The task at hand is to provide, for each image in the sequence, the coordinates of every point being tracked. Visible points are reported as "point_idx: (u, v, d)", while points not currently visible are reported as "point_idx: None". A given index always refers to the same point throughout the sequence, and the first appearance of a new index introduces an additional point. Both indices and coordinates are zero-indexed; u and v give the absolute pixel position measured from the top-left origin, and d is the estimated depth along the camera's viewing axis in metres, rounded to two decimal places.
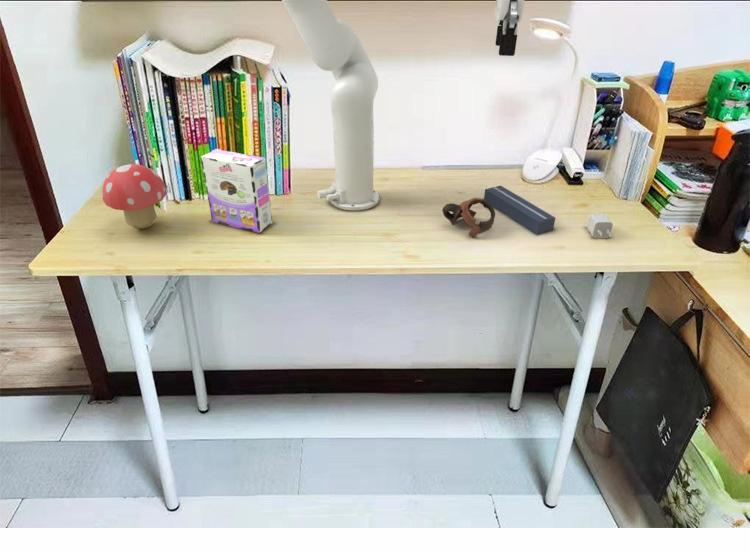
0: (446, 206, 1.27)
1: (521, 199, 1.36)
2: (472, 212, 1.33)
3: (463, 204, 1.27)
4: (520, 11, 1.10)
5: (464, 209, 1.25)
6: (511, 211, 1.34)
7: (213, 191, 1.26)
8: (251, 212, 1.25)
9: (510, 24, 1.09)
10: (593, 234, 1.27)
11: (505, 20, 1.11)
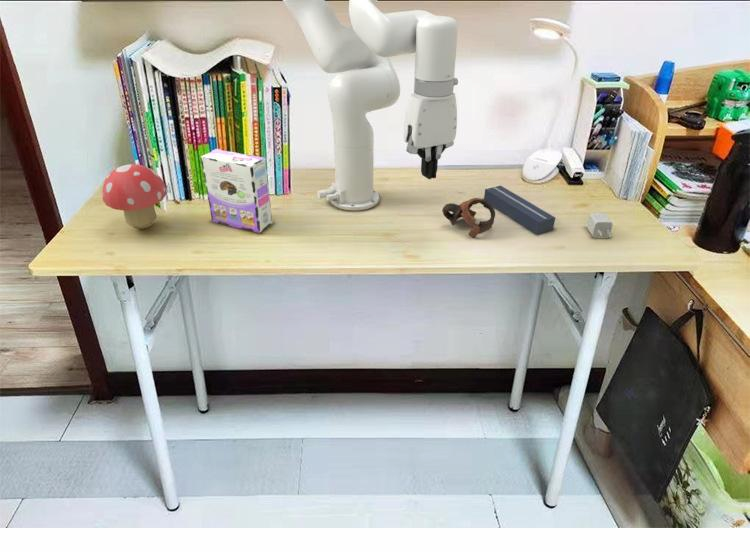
0: (446, 206, 1.27)
1: (521, 199, 1.36)
2: (472, 212, 1.33)
3: (463, 204, 1.27)
4: (414, 138, 1.09)
5: (464, 209, 1.25)
6: (511, 211, 1.34)
7: (213, 191, 1.26)
8: (251, 212, 1.25)
9: None
10: (593, 234, 1.27)
11: None
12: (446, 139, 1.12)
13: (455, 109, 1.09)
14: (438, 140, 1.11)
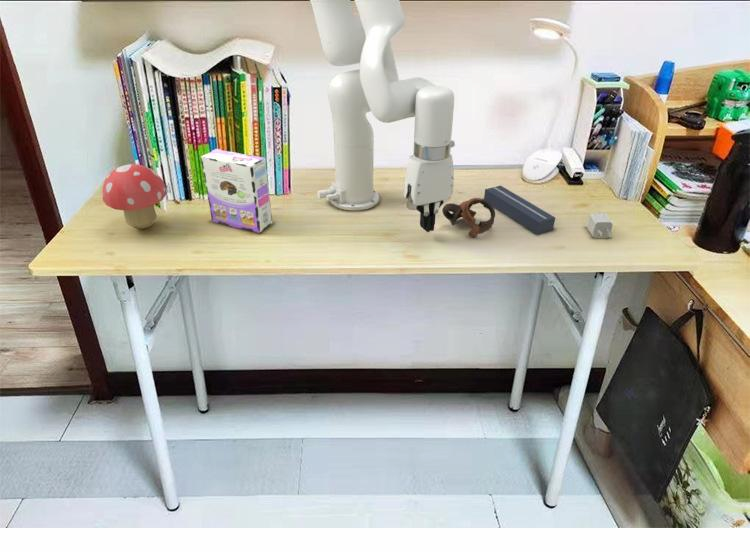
0: (446, 206, 1.27)
1: (521, 199, 1.36)
2: (472, 212, 1.33)
3: (463, 204, 1.27)
4: (413, 196, 1.16)
5: (464, 209, 1.25)
6: (511, 211, 1.34)
7: (213, 190, 1.26)
8: (251, 212, 1.25)
9: None
10: (593, 234, 1.27)
11: None
12: (443, 196, 1.19)
13: (452, 170, 1.17)
14: (436, 197, 1.18)
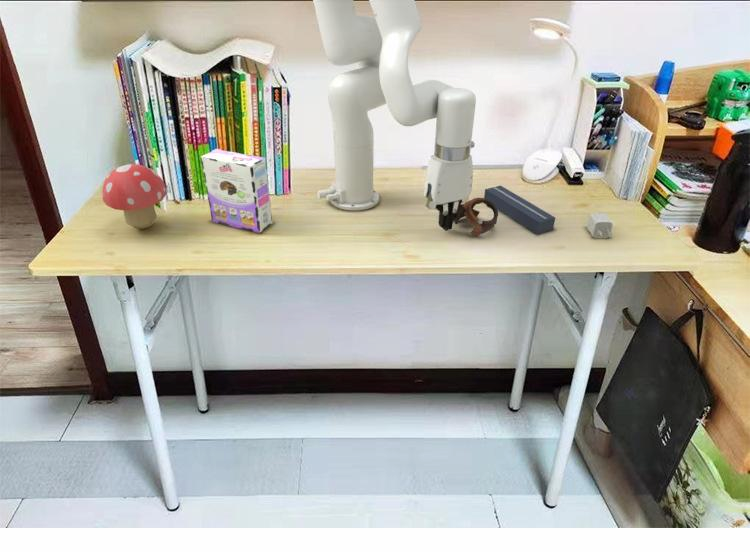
0: None
1: (521, 199, 1.36)
2: (475, 212, 1.33)
3: (466, 203, 1.28)
4: (433, 196, 1.19)
5: (467, 208, 1.26)
6: (511, 211, 1.34)
7: (213, 190, 1.26)
8: (251, 212, 1.25)
9: None
10: (593, 234, 1.27)
11: None
12: (462, 195, 1.22)
13: (471, 170, 1.19)
14: (455, 197, 1.21)
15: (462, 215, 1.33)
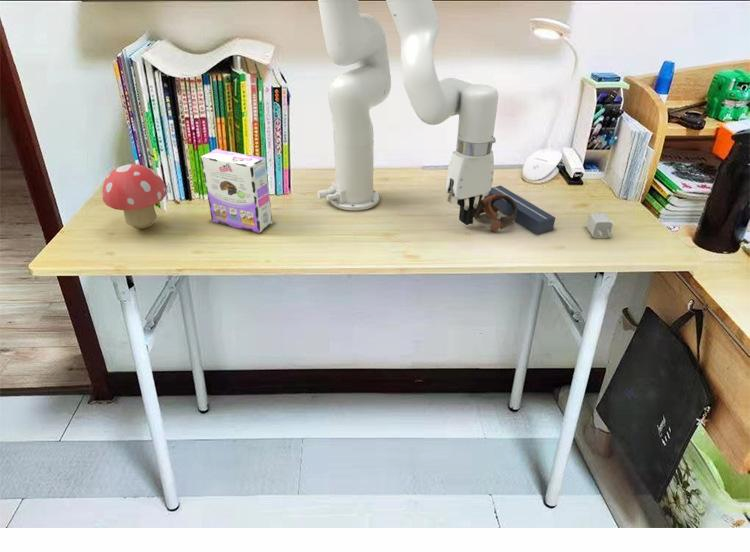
0: None
1: (521, 199, 1.36)
2: (495, 208, 1.35)
3: (486, 199, 1.30)
4: (455, 191, 1.21)
5: (486, 204, 1.28)
6: (511, 211, 1.34)
7: (213, 190, 1.26)
8: (251, 212, 1.25)
9: None
10: (593, 234, 1.27)
11: None
12: (483, 190, 1.24)
13: (492, 165, 1.21)
14: (476, 192, 1.23)
15: (482, 211, 1.35)
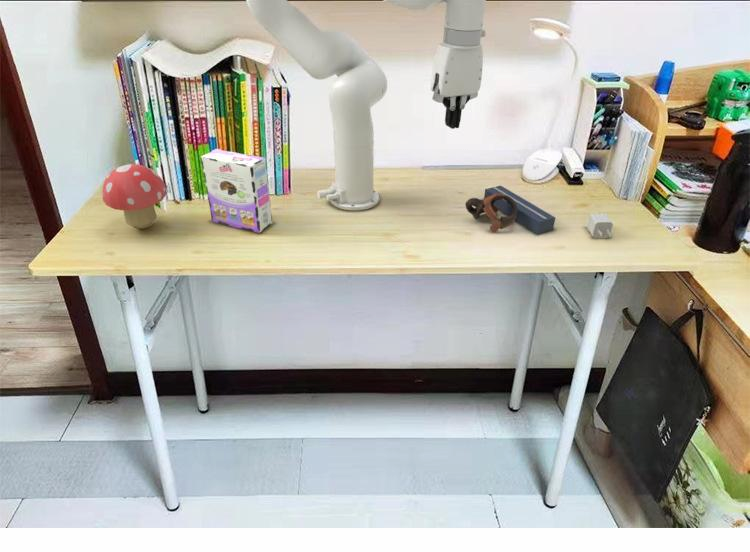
0: (469, 200, 1.30)
1: (521, 199, 1.36)
2: (495, 208, 1.35)
3: (486, 199, 1.30)
4: (440, 86, 1.14)
5: (486, 204, 1.28)
6: (511, 211, 1.34)
7: (213, 190, 1.26)
8: (251, 212, 1.25)
9: None
10: (593, 234, 1.27)
11: None
12: (471, 89, 1.17)
13: (481, 61, 1.15)
14: (463, 90, 1.16)
15: (482, 211, 1.35)
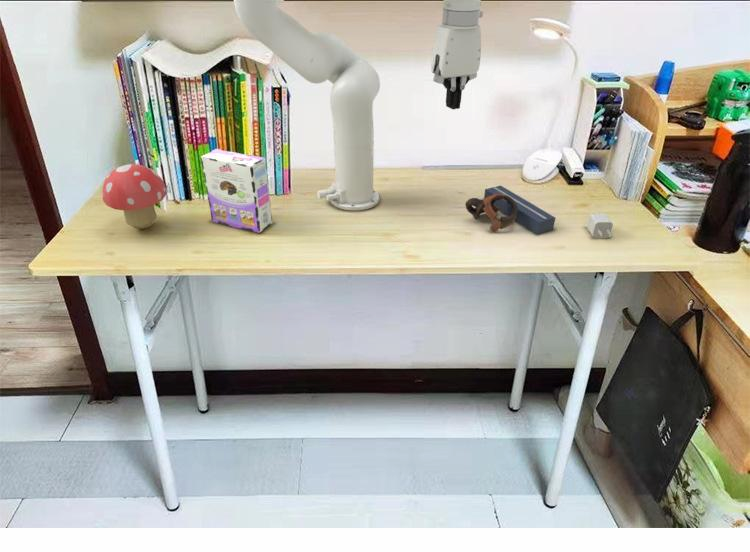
0: (469, 200, 1.30)
1: (521, 199, 1.36)
2: (495, 208, 1.35)
3: (486, 199, 1.30)
4: (441, 67, 1.17)
5: (486, 204, 1.28)
6: (511, 211, 1.34)
7: (213, 190, 1.26)
8: (251, 212, 1.25)
9: None
10: (593, 234, 1.27)
11: None
12: (470, 70, 1.20)
13: (479, 41, 1.17)
14: (463, 70, 1.19)
15: (482, 211, 1.35)
